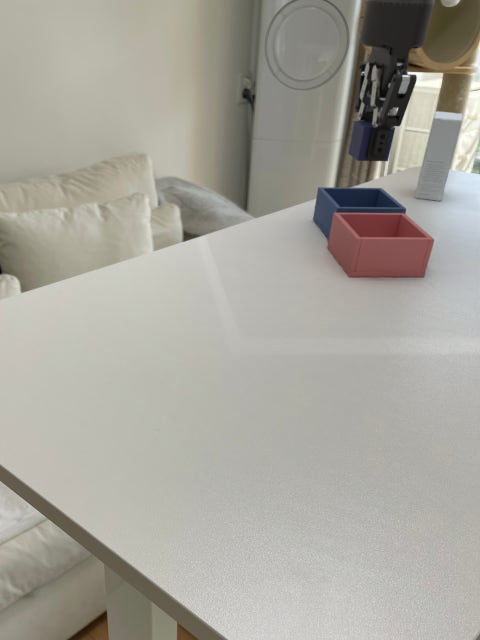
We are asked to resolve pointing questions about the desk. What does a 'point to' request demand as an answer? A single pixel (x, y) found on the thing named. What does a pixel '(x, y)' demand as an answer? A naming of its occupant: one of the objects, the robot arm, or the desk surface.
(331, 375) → the desk surface
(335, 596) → the desk surface
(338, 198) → the blue bin
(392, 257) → the rose bin
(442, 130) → the cosmetic box
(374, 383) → the desk surface
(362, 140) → the navy block
